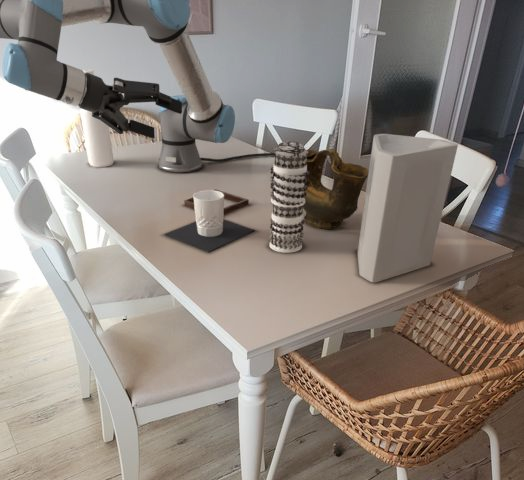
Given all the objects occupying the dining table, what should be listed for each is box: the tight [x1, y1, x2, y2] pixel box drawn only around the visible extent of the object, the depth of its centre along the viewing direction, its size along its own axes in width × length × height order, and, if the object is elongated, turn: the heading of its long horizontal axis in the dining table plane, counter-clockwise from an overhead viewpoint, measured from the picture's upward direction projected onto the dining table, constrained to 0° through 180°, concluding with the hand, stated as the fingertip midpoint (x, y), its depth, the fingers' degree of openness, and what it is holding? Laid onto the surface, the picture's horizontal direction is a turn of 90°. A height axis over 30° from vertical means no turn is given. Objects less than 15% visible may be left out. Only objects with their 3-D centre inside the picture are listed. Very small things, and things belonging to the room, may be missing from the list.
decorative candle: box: [268, 141, 309, 254], centre depth 125 cm, size 9×9×25 cm
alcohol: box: [79, 68, 115, 168], centre depth 177 cm, size 9×9×30 cm
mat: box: [164, 218, 255, 253], centre depth 138 cm, size 18×16×1 cm
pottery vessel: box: [303, 148, 369, 230], centre depth 140 cm, size 25×11×20 cm, turn 40°
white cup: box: [192, 189, 225, 237], centre depth 135 cm, size 8×8×10 cm
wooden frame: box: [183, 189, 250, 215], centre depth 154 cm, size 14×14×2 cm
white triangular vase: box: [356, 133, 459, 284], centre depth 118 cm, size 19×15×28 cm
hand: (166, 121), depth 127 cm, fingers open, 13 cm apart
